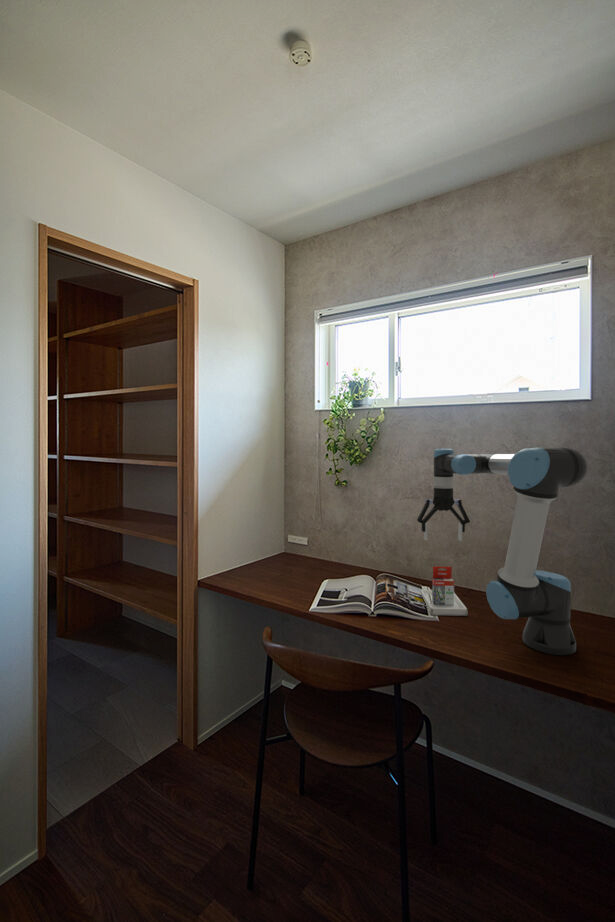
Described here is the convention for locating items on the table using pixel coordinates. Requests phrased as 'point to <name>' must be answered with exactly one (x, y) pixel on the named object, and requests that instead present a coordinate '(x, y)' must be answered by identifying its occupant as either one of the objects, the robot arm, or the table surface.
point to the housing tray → (445, 606)
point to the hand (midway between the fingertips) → (442, 540)
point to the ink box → (442, 586)
